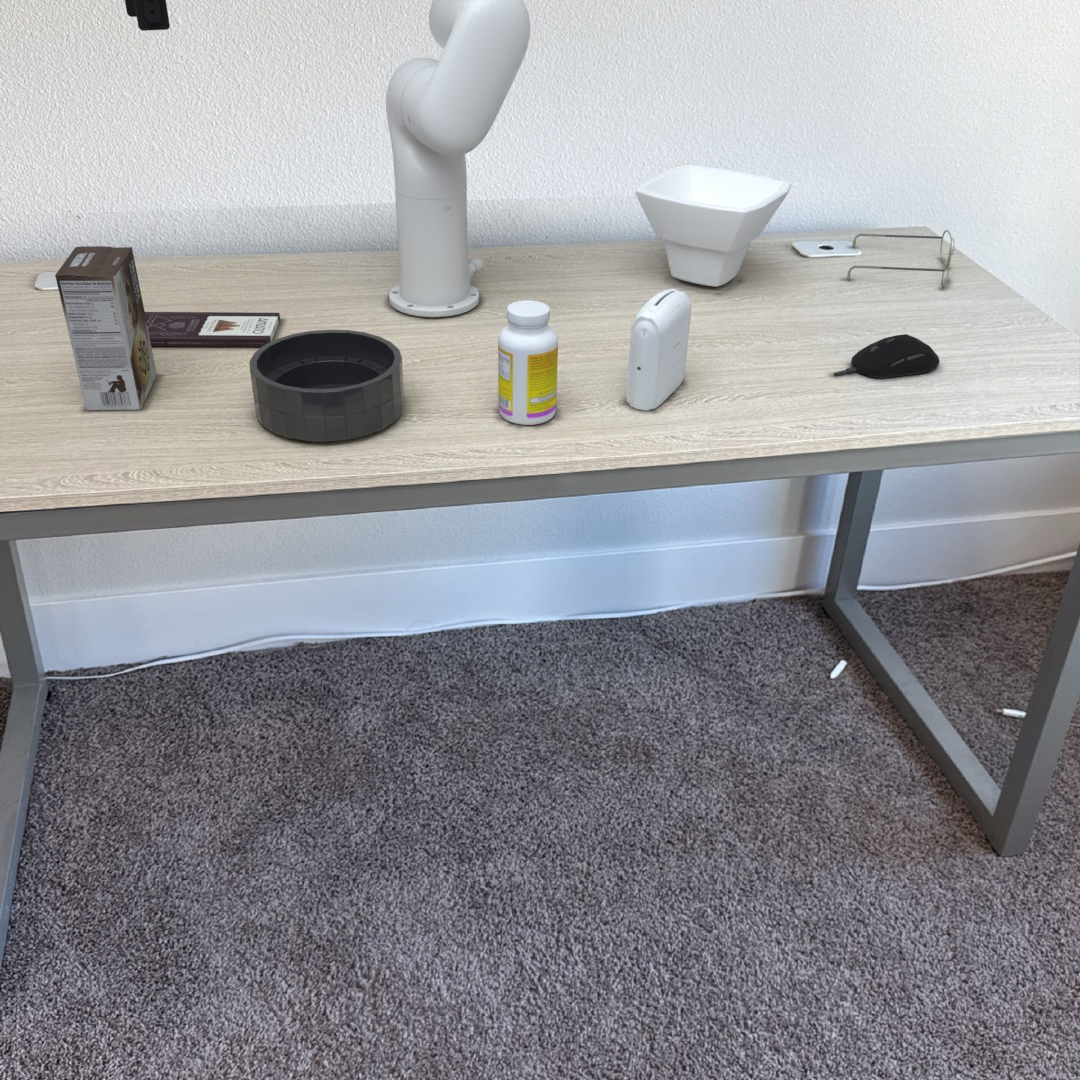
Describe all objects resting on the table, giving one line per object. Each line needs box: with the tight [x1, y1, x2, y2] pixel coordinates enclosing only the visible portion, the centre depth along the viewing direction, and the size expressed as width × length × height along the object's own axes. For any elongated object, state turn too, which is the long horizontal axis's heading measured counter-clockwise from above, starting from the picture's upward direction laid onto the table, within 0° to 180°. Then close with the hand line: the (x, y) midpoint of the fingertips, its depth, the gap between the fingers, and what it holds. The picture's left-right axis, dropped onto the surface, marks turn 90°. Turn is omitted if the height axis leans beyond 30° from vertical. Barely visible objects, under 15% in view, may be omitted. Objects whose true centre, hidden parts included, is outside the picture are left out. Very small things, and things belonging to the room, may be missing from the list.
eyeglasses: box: [846, 229, 955, 289], centre depth 168 cm, size 16×15×5 cm
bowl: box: [635, 163, 792, 288], centre depth 159 cm, size 19×19×14 cm
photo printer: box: [625, 288, 692, 412], centre depth 127 cm, size 10×4×12 cm, turn 151°
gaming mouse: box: [833, 333, 941, 379], centre depth 137 cm, size 6×15×4 cm, turn 110°
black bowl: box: [249, 329, 405, 443], centre depth 123 cm, size 17×17×6 cm
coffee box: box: [54, 245, 158, 411], centre depth 123 cm, size 9×6×16 cm
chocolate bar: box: [145, 311, 281, 348], centre depth 142 cm, size 9×1×18 cm
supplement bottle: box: [497, 299, 559, 426], centre depth 122 cm, size 7×7×13 cm
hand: (148, 22), depth 121 cm, fingers open, 9 cm apart
